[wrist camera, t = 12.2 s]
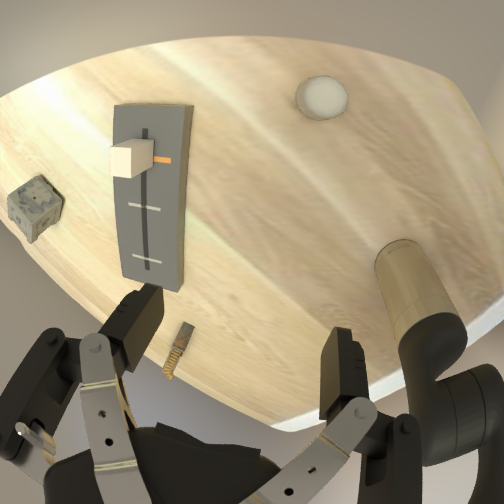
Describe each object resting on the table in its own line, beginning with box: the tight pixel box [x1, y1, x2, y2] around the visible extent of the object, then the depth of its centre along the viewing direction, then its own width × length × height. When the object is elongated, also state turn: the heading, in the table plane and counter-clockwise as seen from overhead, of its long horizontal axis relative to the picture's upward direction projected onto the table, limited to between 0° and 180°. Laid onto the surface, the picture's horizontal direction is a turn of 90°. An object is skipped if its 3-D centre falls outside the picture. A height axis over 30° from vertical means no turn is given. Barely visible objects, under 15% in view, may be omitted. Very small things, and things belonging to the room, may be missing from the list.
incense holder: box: [7, 175, 62, 244], centre depth 43 cm, size 10×8×10 cm
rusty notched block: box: [162, 322, 195, 381], centre depth 57 cm, size 11×3×10 cm, turn 154°
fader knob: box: [110, 139, 154, 178], centre depth 33 cm, size 4×4×6 cm
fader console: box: [113, 104, 193, 293], centre depth 42 cm, size 32×12×3 cm, turn 171°
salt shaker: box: [296, 76, 348, 120], centre depth 26 cm, size 6×6×13 cm
